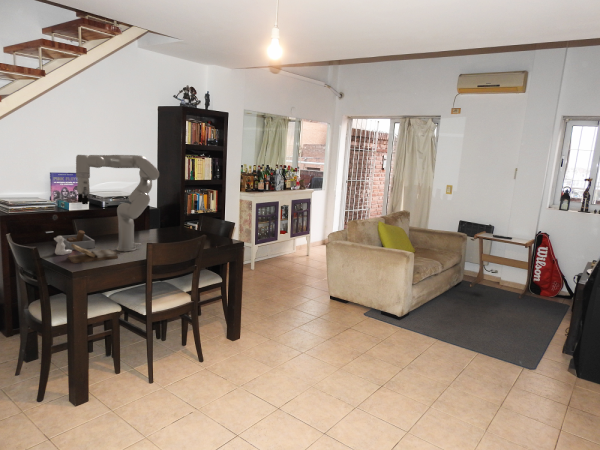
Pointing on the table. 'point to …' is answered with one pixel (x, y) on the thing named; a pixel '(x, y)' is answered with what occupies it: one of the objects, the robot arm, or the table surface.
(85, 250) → the oak plank
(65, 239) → the block crate
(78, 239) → the wooden block set
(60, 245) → the sitting furry creature
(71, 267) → the table surface
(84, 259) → the floor board
